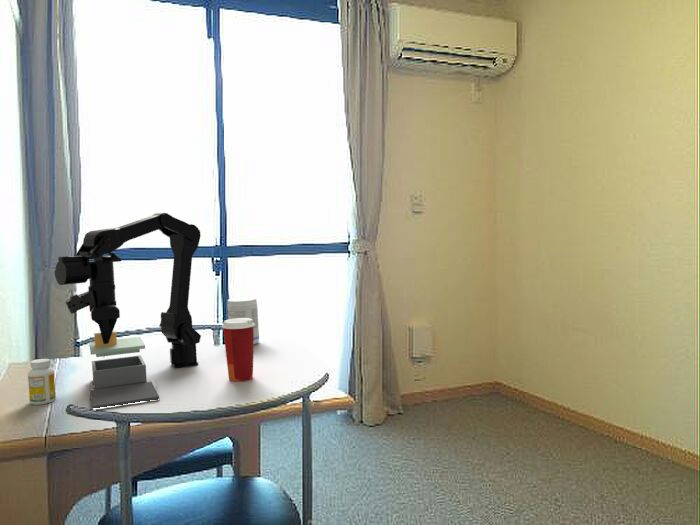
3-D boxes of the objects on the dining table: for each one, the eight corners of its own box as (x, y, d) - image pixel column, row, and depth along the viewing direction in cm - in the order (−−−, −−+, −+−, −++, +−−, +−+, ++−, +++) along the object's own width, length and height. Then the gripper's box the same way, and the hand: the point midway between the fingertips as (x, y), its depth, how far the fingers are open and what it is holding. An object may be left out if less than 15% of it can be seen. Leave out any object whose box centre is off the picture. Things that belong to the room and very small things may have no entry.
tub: (141, 373, 159) (140, 355, 159) (146, 384, 148) (145, 364, 148) (93, 380, 154) (91, 361, 154) (94, 391, 143) (93, 371, 143)
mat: (151, 385, 147) (151, 381, 147) (159, 400, 135) (159, 396, 135) (90, 394, 141) (90, 390, 141) (92, 410, 129) (91, 406, 129)
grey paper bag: (250, 339, 200) (248, 295, 199) (264, 343, 193) (262, 298, 191) (223, 343, 194) (221, 299, 193) (238, 348, 187) (236, 302, 185)
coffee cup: (262, 375, 154) (260, 317, 152) (247, 384, 146) (244, 323, 145) (234, 373, 156) (231, 317, 155) (217, 381, 149) (214, 322, 147)
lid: (140, 343, 159) (139, 325, 158) (145, 352, 147) (144, 333, 147) (89, 349, 153) (88, 330, 153) (91, 358, 142) (89, 339, 142)
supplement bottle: (35, 406, 133) (32, 364, 132) (25, 402, 136) (22, 361, 136) (60, 400, 137) (57, 359, 136) (50, 396, 140) (47, 356, 140)
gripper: (66, 280, 153) (70, 339, 154) (65, 287, 136) (70, 354, 137) (112, 277, 158) (116, 335, 159) (117, 283, 141) (121, 348, 142)
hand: (105, 342), depth 149 cm, fingers closed on lid
